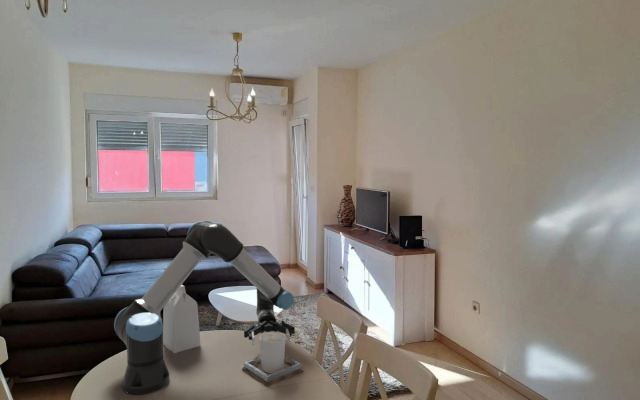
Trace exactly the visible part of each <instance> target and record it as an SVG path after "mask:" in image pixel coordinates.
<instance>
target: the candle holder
mask: <svg viewBox="0 0 640 400" xmlns="http://www.w3.org/2000/svg"><path fill="white" fill-rule="evenodd" d="M258 340H259V352H260V354H259V355H260V356H259V357H261V368H262V371H264V372H266V373H275V372H277V371H280V370H282V369H284V359H285V355H286V340H287V337H286V334H284V333H281V332H278V331H277V332H275V331H270V332H263V333H261V334H260V335H259V337H258Z"/></svg>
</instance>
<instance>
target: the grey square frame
mask: <svg viewBox="0 0 640 400" xmlns="http://www.w3.org/2000/svg"><path fill="white" fill-rule="evenodd" d="M284 362H286V363H287V364H289V365H291V366H290V367H287V368H285V369H282V370H280V371H277V372H275V373H272V374H270V375H267V374H265V373H264V372H262V371H261V370H259V369H257V368H256V367H254V365H256V364H259V363H261V356H257V357H255V358H252V359H250V360H246V361H244V362H243V367H244V368H245V369H247V370H249V371H250V372H252V373H253V374H255V375H256V376H258V377H259V378H261V379H262V380H264V381H266V382H267V383H268V382H270V381H273V380H275V379H278V378H280V377H282V376H285V375H287V374H290V373H292V372H295V371H297V370H299V369H301V368H302V364H301V363H300V362H298V361H296V360H295V359H292V358H291V357H289V356H287V355H286V354H285V359H284Z"/></svg>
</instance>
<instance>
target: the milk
mask: <svg viewBox="0 0 640 400" xmlns="http://www.w3.org/2000/svg"><path fill="white" fill-rule="evenodd" d="M162 310H163V315H162V317H163V318H162V323H163V346H164V345H165V346H164V347H166V348H167V349H168V350H169V351H170V352H172V353H173V354H177V353H179V352H180V353H181V352H185V351H187V350H191V349H193V348H197V347H200V346H201V333H200V322H199V321H200V320H199V308H198V302H197V300H195V299H194V298H193V297H191V296H190V295H189V294H187V292H186V286H185V285H183V284H182V285H181V286H180V287H179V288H178V290H177V291H176V292H175V293H174V295H173V296H172V297H171V298H170V300H169V301H168V302H167V303H166V305H165V306H164V307H163V309H162Z"/></svg>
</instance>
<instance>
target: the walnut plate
mask: <svg viewBox="0 0 640 400" xmlns="http://www.w3.org/2000/svg"><path fill="white" fill-rule="evenodd" d="M290 366H291V365H289V364H287V363H286V362H284V369H285V368H287V367H290ZM254 367H256V368H257V369H259V370H261V371H262V368H261V363H259V364H256V365H254ZM241 370H242V371H243V373H246V374H247V375H249V376H250V377H252V378H253V379H255V380H256V381H257V382H260V383H261V384H263V385H264V386H265V387H270V386H272V385H274V384H276V383H279V382H281V381H283V380H287V379H288V378H291V377H293V376H295V375H298V374H301V373H303V372H304V371H303V370H304V369H303V368H302V367H301V369H299V370H297V371H295V372H292V373H290V374H287V375H285V376H282V377H280V378H278V379H275V380H273V381H270V382H268V383H267V382H266V381H264V380H262V379H261V378H259V377H258V376H256V375H255V374H253V373H252V372H250V371H249V370H247V369H245V368H244V366H242V368H241ZM262 372H264V371H262ZM264 373H265V374H267V375H270V374H272V373H266V372H264Z"/></svg>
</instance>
